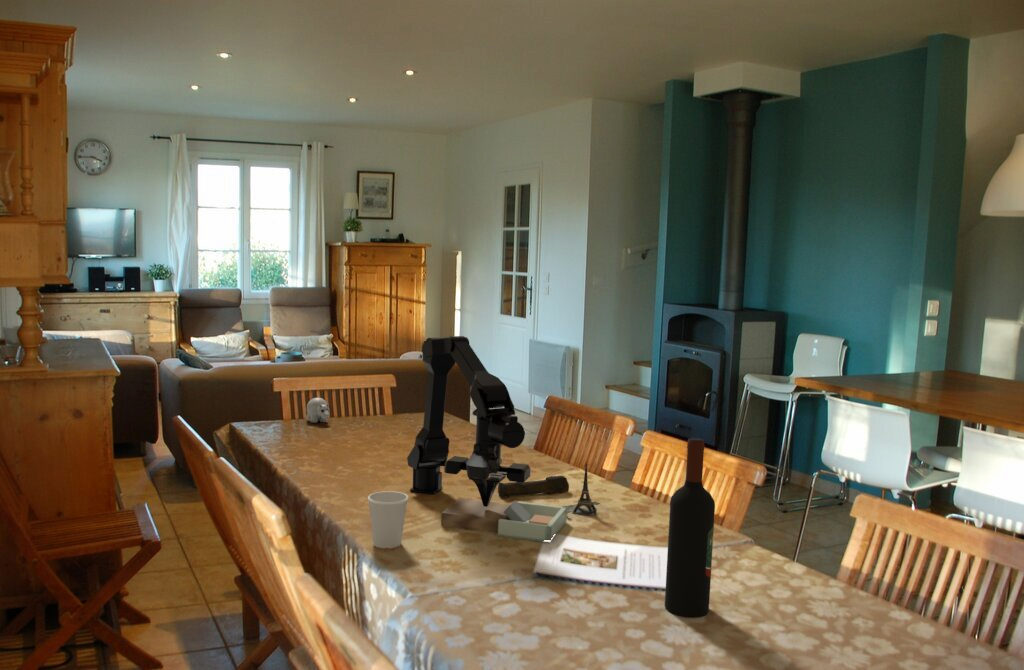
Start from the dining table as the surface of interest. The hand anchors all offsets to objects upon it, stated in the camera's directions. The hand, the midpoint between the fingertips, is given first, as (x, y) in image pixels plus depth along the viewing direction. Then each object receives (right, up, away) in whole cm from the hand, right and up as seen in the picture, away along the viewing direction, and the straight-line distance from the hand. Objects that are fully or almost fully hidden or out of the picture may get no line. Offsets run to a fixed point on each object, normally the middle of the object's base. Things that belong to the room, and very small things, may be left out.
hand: (485, 506), depth 192 cm
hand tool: (+11, -2, +25) cm, 27 cm away
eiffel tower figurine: (+23, -4, +12) cm, 26 cm away
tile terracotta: (+13, -2, -4) cm, 13 cm away
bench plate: (-1, -4, +1) cm, 4 cm away
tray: (+11, -4, -3) cm, 12 cm away
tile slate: (+6, -2, -2) cm, 7 cm away
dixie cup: (-20, -5, -16) cm, 26 cm away
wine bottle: (+36, -9, -43) cm, 57 cm away
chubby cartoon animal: (-61, +8, +102) cm, 119 cm away
